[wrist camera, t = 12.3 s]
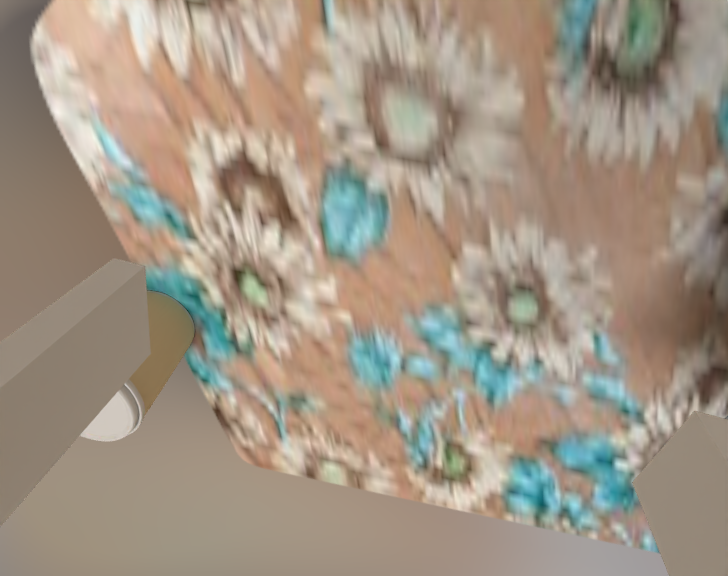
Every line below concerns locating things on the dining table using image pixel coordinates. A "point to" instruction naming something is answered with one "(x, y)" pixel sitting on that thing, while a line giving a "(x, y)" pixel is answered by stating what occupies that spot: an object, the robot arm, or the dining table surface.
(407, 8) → the dining table surface
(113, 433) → the coffee cup
